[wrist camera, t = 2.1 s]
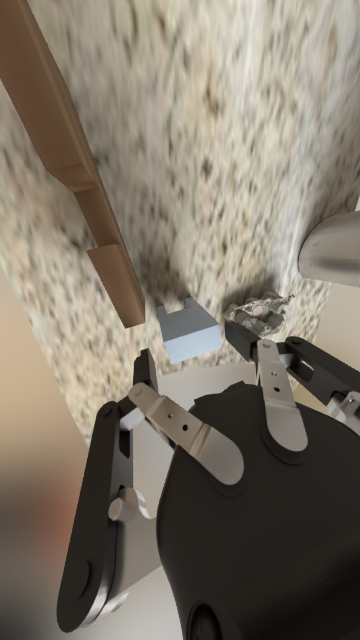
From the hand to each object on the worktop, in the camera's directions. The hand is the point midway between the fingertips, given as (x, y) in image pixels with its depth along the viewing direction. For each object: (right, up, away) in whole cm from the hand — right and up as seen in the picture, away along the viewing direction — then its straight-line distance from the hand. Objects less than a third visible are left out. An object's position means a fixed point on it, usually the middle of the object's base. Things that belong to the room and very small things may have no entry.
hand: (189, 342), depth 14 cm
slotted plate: (-9, +12, +1) cm, 15 cm away
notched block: (-2, +4, +8) cm, 9 cm away
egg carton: (+12, +3, +12) cm, 17 cm away
